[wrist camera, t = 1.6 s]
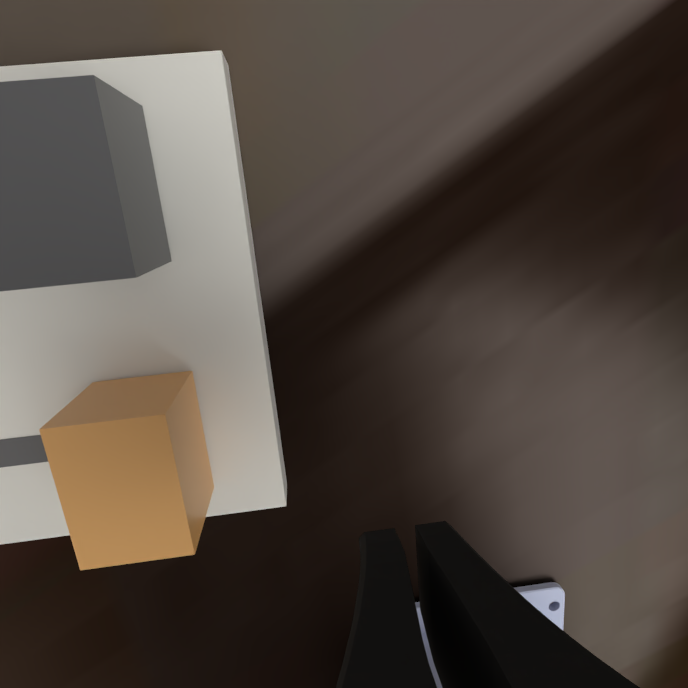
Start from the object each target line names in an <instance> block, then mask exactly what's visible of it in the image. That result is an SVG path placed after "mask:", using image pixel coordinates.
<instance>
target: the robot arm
mask: <svg viewBox="0 0 688 688" xmlns="http://www.w3.org/2000/svg"><path fill="white" fill-rule="evenodd" d="M415 531H416V548H417V566H418V583H419V601H420V602H415V600H414V595H413V590H412V585H411V580H410V575H409V570H408V566H407V561H406V556H405V552H404V549H403V547H402V544H401V542H400V539H399V537H398V535H397V533H396V531H395V529H394V528H393V529H385V530H378V531H371V532H364V533H363V534H362V535H361V536H360V538H359V544H360V554H361V564H360V576H359V586H358V592H357V598H356V604H355V610H354V616H353V621H352V626H351V630H350V634H349V638H348V643H347V647H346V651H345V655H344V659H343V663H342V667H341V671H340V674H339V678H338V681H337V685H336V688H640V687H638V686H637V685H635V684H634V683H632V682H631V681H629V680H628V679H626V678H625V677H624V676H622V675H621V674H619V673H618V672H617V671H615V670H614V669H613V668H611V667H610V666H608V665H607V664H606V663H604V662H603V661H601V660H600V659H599V658H597V657H596V656H595V655H593V654H592V653H591V652H589V651H588V650H587V649H585V648H584V647H583V646H582V645H580V644H579V643H578V642H577V641H575V640H574V639H573V638H571V637H570V636H569V635H568V634H566V633H565V632H564V631H563V624H564V603H565V593H564V590H563V589H562V587H561V586H560V585H559V584H558V583H556V582H549V583H542V584H535V585H528V586H522V587H515V588H513V587H512V586H511V585H510V584H509V583H508V582H507V581H506V580H504V579H503V578H502V577H501V576H500V575H499V574H498V573H497V572H496V571H495V570H494V569H493V568H492V567H491V566H490V565H489V564H488V563H487V562H486V561H485V560H484V559H483V558H482V557H481V556H480V555H479V554H478V553H477V552H476V551H475V550H474V549H473V548H472V547H471V546H470V545H469V544H468V543H467V542H466V541H465V540H464V539H463V538H462V537H461V536H460V535H459V534H458V533H457V532H456V531H455V530H454V529H453V528H452V526H451V525H449V524H448V523H447V522H446V521H443V522H436V523H429V524H421V525H415ZM552 602H553V603H552ZM550 603H551V604H550Z"/></svg>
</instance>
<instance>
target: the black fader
mask: <svg viewBox="0 0 688 688" xmlns="http://www.w3.org/2000/svg"><path fill="white" fill-rule="evenodd" d="M171 261H172V260H171V255H170V250H169V244H168V239H167V234H166V228H165V223H164V218H163V212H162V207H161V202H160V197H159V191H158V186H157V181H156V175H155V170H154V165H153V159H152V154H151V149H150V144H149V138H148V133H147V128H146V122H145V117H144V112H143V106H142V105H140V104H139V103H137V102H135V101H134V100H132V99H131V98H129V97H128V96H126V95H124V94H123V93H121V92H120V91H118V90H117V89H115V88H113V87H112V86H110V85H109V84H107V83H106V82H104V81H102V80H101V79H99V78H98V77H96V76H95V75H86V76H73V77H59V78H46V79H33V80H19V81H6V82H0V291H10V290H20V289H30V288H40V287H50V286H59V285H69V284H79V283H89V282H99V281H109V280H118V279H128V278H137V277H139V276H141V275H143V274H145V273H148V272H150V271H152V270H154V269H156V268H158V267H161V266H163V265H165V264H167V263H169V262H171Z"/></svg>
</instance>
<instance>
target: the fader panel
mask: <svg viewBox="0 0 688 688" xmlns="http://www.w3.org/2000/svg"><path fill="white" fill-rule="evenodd" d="M86 75H95V76H96V77H98V78H99V79H101V80H102V81H104V82H106V83H107V84H109V85H110V86H112V87H113V88H115V89H117V90H118V91H120V92H121V93H123V94H124V95H126V96H128V97H129V98H131V99H132V100H134V101H135V102H137V103H139V104H140V105H142V106H143V112H144V117H145V122H146V128H147V133H148V138H149V144H150V149H151V154H152V159H153V165H154V170H155V175H156V181H157V186H158V191H159V197H160V202H161V207H162V212H163V218H164V223H165V228H166V234H167V239H168V244H169V250H170V255H171V260H172V261H171V262H169V263H167V264H165V265H163V266H161V267H158V268H156V269H154V270H152V271H150V272H148V273H145V274H143V275H141V276H139V277H137V278H128V279H118V280H109V281H99V282H89V283H79V284H69V285H59V286H50V287H40V288H30V289H20V290H10V291H0V544H8V543H15V542H23V541H30V540H38V539H45V538H53V537H60V536H67V535H70V533H69V530H68V527H67V523H66V520H65V516H64V513H63V510H62V506H61V503H60V499H59V496H58V493H57V489H56V486H55V482H54V479H53V475H52V472H51V469H50V465H49V462H48V458H47V455H46V452H45V448H44V445H43V441H42V438H41V435H40V431H39V429H40V428H41V427H42V426H44V425H45V424H46V423H47V422H48V421H49V420H50V419H51V418H53V417H54V416H55V415H56V414H57V413H58V412H59V411H61V410H62V409H63V408H64V407H65V406H66V405H67V404H69V403H70V402H71V401H72V400H73V399H74V398H75V397H77V396H78V395H79V394H80V393H81V392H82V391H83V390H85V389H86V388H87V387H88V386H89V385H90V384H91V383H93V382H98V381H107V380H116V379H124V378H133V377H142V376H150V375H159V374H168V373H177V372H185V371H192V372H193V377H194V382H195V387H196V393H197V398H198V403H199V409H200V414H201V419H202V425H203V430H204V435H205V441H206V446H207V451H208V456H209V462H210V467H211V472H212V478H213V483H214V490H213V493H212V497H211V500H210V504H209V507H208V510H207V514H206V517H209V516H217V515H224V514H232V513H239V512H247V511H254V510H262V509H269V508H277V507H284V506H286V501H287V480H286V473H285V466H284V459H283V451H282V444H281V437H280V430H279V423H278V416H277V409H276V402H275V394H274V387H273V380H272V373H271V366H270V359H269V352H268V344H267V337H266V330H265V323H264V316H263V309H262V302H261V295H260V287H259V280H258V273H257V266H256V259H255V252H254V245H253V237H252V230H251V223H250V216H249V209H248V202H247V195H246V188H245V180H244V173H243V166H242V159H241V152H240V145H239V138H238V130H237V123H236V116H235V109H234V102H233V95H232V88H231V81H230V73H229V66H228V63H227V61H226V59H225V57H224V55H223V53H222V51H221V50H220V51H206V52H192V53H179V54H165V55H151V56H138V57H124V58H110V59H96V60H83V61H69V62H55V63H42V64H28V65H14V66H0V82H6V81H19V80H33V79H46V78H59V77H73V76H86Z"/></svg>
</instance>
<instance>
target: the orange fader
mask: <svg viewBox="0 0 688 688" xmlns="http://www.w3.org/2000/svg"><path fill="white" fill-rule="evenodd" d="M39 431H40V435H41V438H42V441H43V445H44V448H45V452H46V455H47V458H48V462H49V465H50V469H51V472H52V475H53V479H54V482H55V486H56V489H57V493H58V496H59V499H60V503H61V506H62V510H63V513H64V516H65V520H66V523H67V527H68V530H69V533H70V537H71V540H72V544H73V547H74V551H75V554H76V557H77V561H78V564H79V568H80V570H87V569H94V568H101V567H109V566H116V565H123V564H130V563H137V562H145V561H152V560H159V559H166V558H173V557H181V556H188V555H195V552H196V549H197V545H198V542H199V538H200V535H201V531H202V528H203V524H204V521H205V517H206V514H207V510H208V507H209V504H210V500H211V497H212V493H213V490H214V483H213V478H212V472H211V467H210V462H209V456H208V451H207V446H206V441H205V435H204V430H203V425H202V419H201V414H200V409H199V403H198V398H197V393H196V387H195V382H194V377H193V372H192V371H185V372H177V373H168V374H159V375H150V376H142V377H133V378H124V379H116V380H107V381H98V382H93V383H91V384H90V385H89V386H88V387H87V388H86V389H85V390H83V391H82V392H81V393H80V394H79V395H78V396H77V397H75V398H74V399H73V400H72V401H71V402H70V403H69V404H67V405H66V406H65V407H64V408H63V409H62V410H61V411H59V412H58V413H57V414H56V415H55V416H54V417H53V418H51V419H50V420H49V421H48V422H47V423H46V424H45V425H44V426H42V427H41V428H40V429H39Z"/></svg>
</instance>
